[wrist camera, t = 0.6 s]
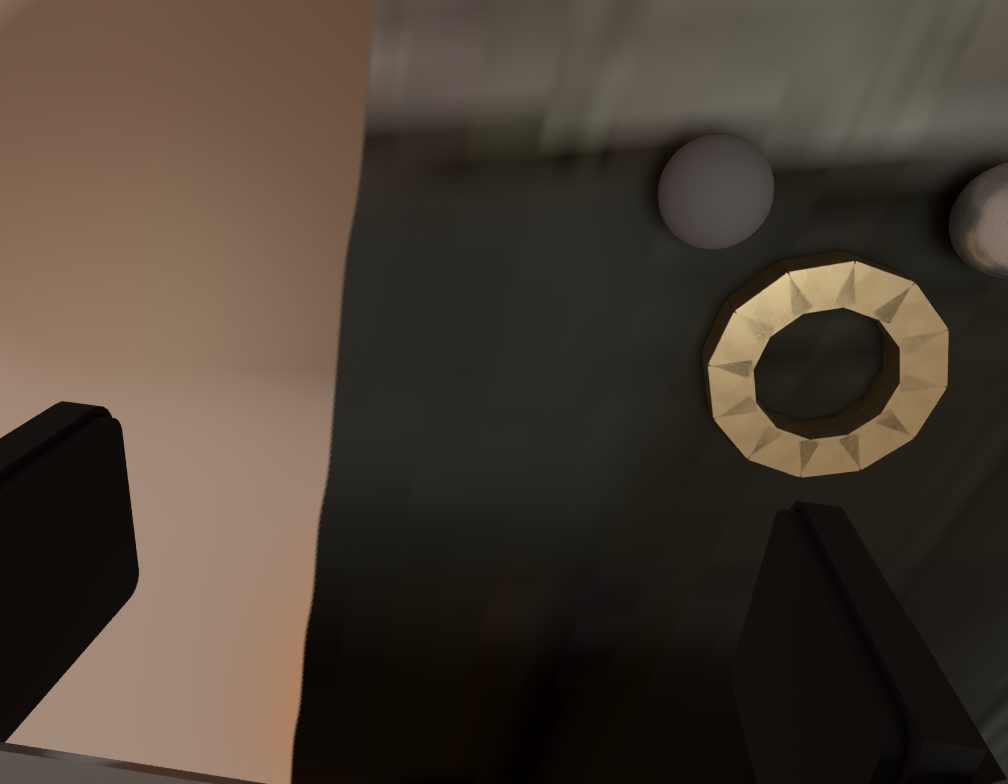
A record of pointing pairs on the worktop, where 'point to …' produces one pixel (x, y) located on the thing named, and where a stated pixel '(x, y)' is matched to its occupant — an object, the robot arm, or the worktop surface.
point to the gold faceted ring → (865, 424)
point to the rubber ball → (716, 191)
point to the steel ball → (983, 222)
